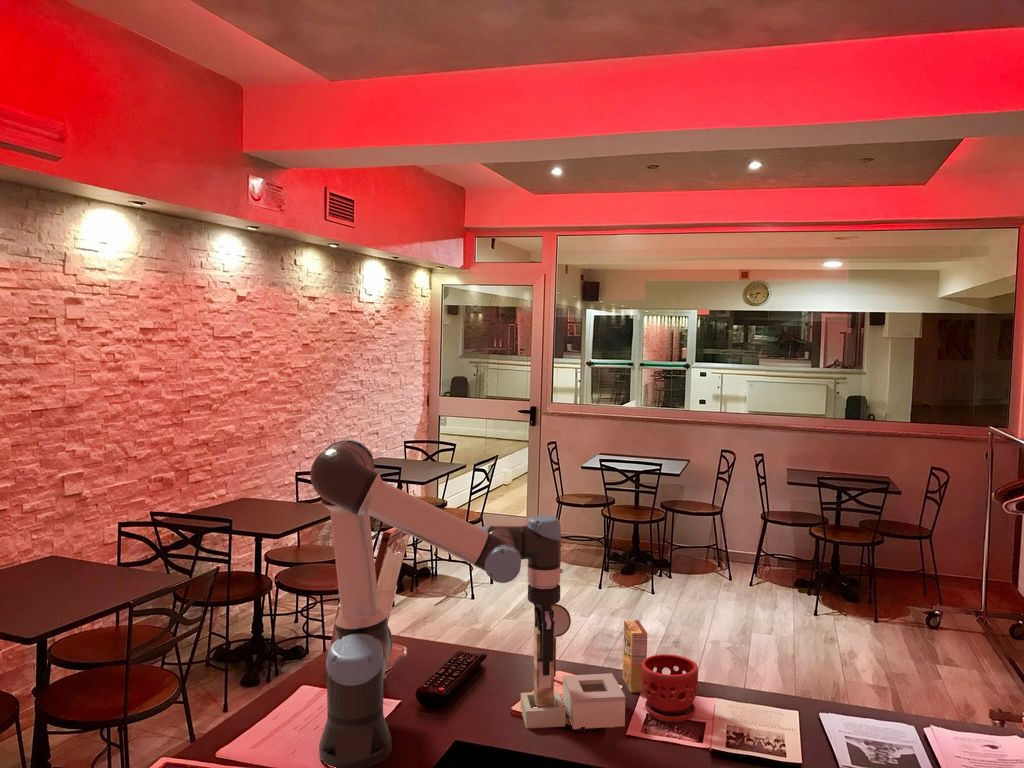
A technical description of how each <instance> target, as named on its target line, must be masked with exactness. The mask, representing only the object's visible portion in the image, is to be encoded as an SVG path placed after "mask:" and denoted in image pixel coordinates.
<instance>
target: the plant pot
mask: <svg viewBox="0 0 1024 768" xmlns="http://www.w3.org/2000/svg"><path fill="white" fill-rule="evenodd" d="M674 667H678V670H675V668H674ZM655 668H656V671H654V669H655ZM666 668H667V669H669V670H670V674H668V673H667V674H666V673H663V670H664V669H666ZM683 671H684V672H685V673H683ZM641 676H642V685H643V690H644V692H643V693H644V697H645V698H646V701H645V703H644V706H645V707H644V708H645V710H646V712H647V714H649V715H650V716H652V717H653V718H655V719H657V720H660V721H662V722H668V723H681V722H685V721H687V720H689V719H691V718H692V716H694V715H695V713H696V706H695V704H694V702H695V698H696V695H697V691H698V683H699V667H698V665H697V663H696V662H695V661H693V660H692V659H690V658H688V657H685V656H680V655H678V654H677V655H676V654H667V653H666V654H655V655H651V656H648V657H647V658H646V659H644V660H643V661H642V664H641Z"/></svg>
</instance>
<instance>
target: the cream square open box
mask: <svg viewBox="0 0 1024 768" xmlns="http://www.w3.org/2000/svg"><path fill="white" fill-rule="evenodd" d="M533 707H539V708H533ZM521 709H522V712H521V715H522V719H523V723H524V726H525V729H541V728H558V727H559V728H560V727H566V709H565V707H564V704H563V698H561V695H560V692H559V690H554V705H550V706H536V703H535V700H534V691H533V692H531V691H529V692H520V710H521Z"/></svg>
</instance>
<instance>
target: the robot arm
mask: <svg viewBox="0 0 1024 768" xmlns="http://www.w3.org/2000/svg"><path fill="white" fill-rule="evenodd" d="M374 460H375V459H374V457H373V455H372V452H371V451H370V449H369V448H368V447H367V446H366V445H365V444H363V443H361V442H360V441H358V440H354V439H343V440H338V441H335V442H332V443H330V445H328V446H327V447H326V448H325V450H323V451H322V452H320V453H319V454H318V455H317V456H316V457H315V459H314V460H313V462H312V464H311V467H310V472H309V473H310V482H311V485H312V487H313V489H314V491H315V492H316V493H317V495H318V496H320V498H321V502H322V503H321V504H322V506H323V507H325V508H326V509H327V510H329V513H330V521H331V531H332V540H333V541H332V542H333V549H334V559H335V566H336V567H335V568H336V576H337V577H336V578H337V586H338V587H337V588H338V596H339V604H340V614H339V615H338V616H337V618H336V619H335V621H334V622H335V623H334V624H335V634H336V640H335V641H333V642H332V643H331V645H330V646H329V648H328V649H327V655H326V656H327V657H326V660H325V666H326V667H325V668H326V691H327V692H326V697H327V699H326V701H327V703H326V704H327V705H326V706H327V709H326V710H327V716H326V717H327V718H326V721H325V724H324V728H323V731H322V735H321V737H320V741H319V745H318V756H319V755H320V757H319V759H320V758H321V759H322V761H323V762H325V763H326V764H328V765H330V766H333V767H336V768H366V767H369V766H373V765H375V766H377V765H379V764H381V763H382V762H383V760H384V761H385V760H386V759H387V758H388V757H389V756H390V755H391V753H390V752H392V749H393V748H392V736H391V731H390V730H389V729H390V728H389V727H388V723H387V720H386V718H385V716H384V715H385V714H384V676H385V673H386V669H387V665H388V662H389V659H390V656H391V653H392V649H393V635H392V632H391V628H390V627H389V625H388V624H389V623H388V615H387V612H386V611H385V610H384V609H382V608H381V607H380V604H379V603H380V602H379V594H378V584H377V575H376V573H377V572H376V565H375V557H374V556H375V555H374V544H373V535H372V526H371V517H372V518H374V519H376V520H378V521H379V522H382V523H384V524H387V525H388V526H391V527H393V528H394V529H397V530H399V531H401V532H404V534H407V535H410V536H411V537H413V538H416V539H418V540H420V541H422V542H424V543H426V544H427V545H430V546H433V547H435V548H437V549H439V550H440V551H443V552H445V553H447V554H449V555H452V556H453V557H455V558H458V559H460V560H462V561H464V562H466V563H468V564H470V565H472V566H474V567H476V568H478V569H481V570H482V571H484V572H485V573H486V574H487V576H488V577H489V578H490V579H491V580H492V581H493V582H496V583H499V584H506V583H510V582H511V581H514V580H515V579H516V578H517V576H518V575H519V574H520V572H521V568H522V567H521V566H522V560H527V583H528V584H527V601H529V602H530V603H531V604H533V606H534V608H533V612H534V627H537V628H538V630H539V631H540V658H537V661H538V662H539V688H551V662H553V660H554V658H553V646H554V624H555V622H554V620H553V618H554V611H553V610H552V607H551V606H552V605H553V604H558V603H559V602H560V601H561V584H560V583H561V574H562V573H563V572H564V571H563V568H561V563H562V562H561V560H562V559H561V557H562V555H561V554H562V553H561V552H562V534H561V533H562V532H561V521H560V520H559V519H558V518H557V517H555V516H552V515H547V514H544V515H543V514H542V515H541V514H540V515H533V516H530V517H529V518H528V521H527V524H526V525H506V526H505V525H501V526H499V525H489V526H488V525H487V526H476V525H475V524H472V523H471V522H468V521H466V520H464V519H462V518H461V517H460V518H459V517H458V516H456V515H453V514H451V513H449V512H448V511H446V510H443V509H441V508H440V507H437V506H435V505H432V504H431V503H429V502H427V501H424V500H422V499H420V498H418V497H416V496H414V495H412V494H410V493H408V492H406V491H404V490H402V489H400V488H398V487H396V486H394V485H392V484H390V483H388V482H385V481H384V480H383V479H382V477H381V474H380V473H378V472H376V471H374V470H375V469H374V468H375V461H374ZM322 761H321V762H322ZM380 762H381V763H380ZM378 763H379V764H378ZM376 764H377V765H376ZM373 767H374V766H373Z"/></svg>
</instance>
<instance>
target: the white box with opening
mask: <svg viewBox="0 0 1024 768" xmlns="http://www.w3.org/2000/svg"><path fill="white" fill-rule="evenodd" d="M562 677H563V678H562V702H563V703H564V705H565V708H566V710H565V712H566V711H567V713H568V715H567V717H568V716H569V718H570V720H571V723H572V725H571V728H572V729H573V730H582V729H581V727H585V729H597V728H598V729H601V728H603V729H604V728H619V727H625V726H626V725H625V724H626V695H625V693H624V692H623V689H622V688H621V686H620V684H619V683H618V681H617V680H616V677H614V674H613V673H611V672H610V673H592V674H571V675H567V674H566V675H563V676H562ZM597 690H601V692H583V691H597ZM567 713H566V714H567ZM569 718H568V719H569ZM570 720H569V721H570ZM571 723H570V724H571ZM579 728H580V729H579Z"/></svg>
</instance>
